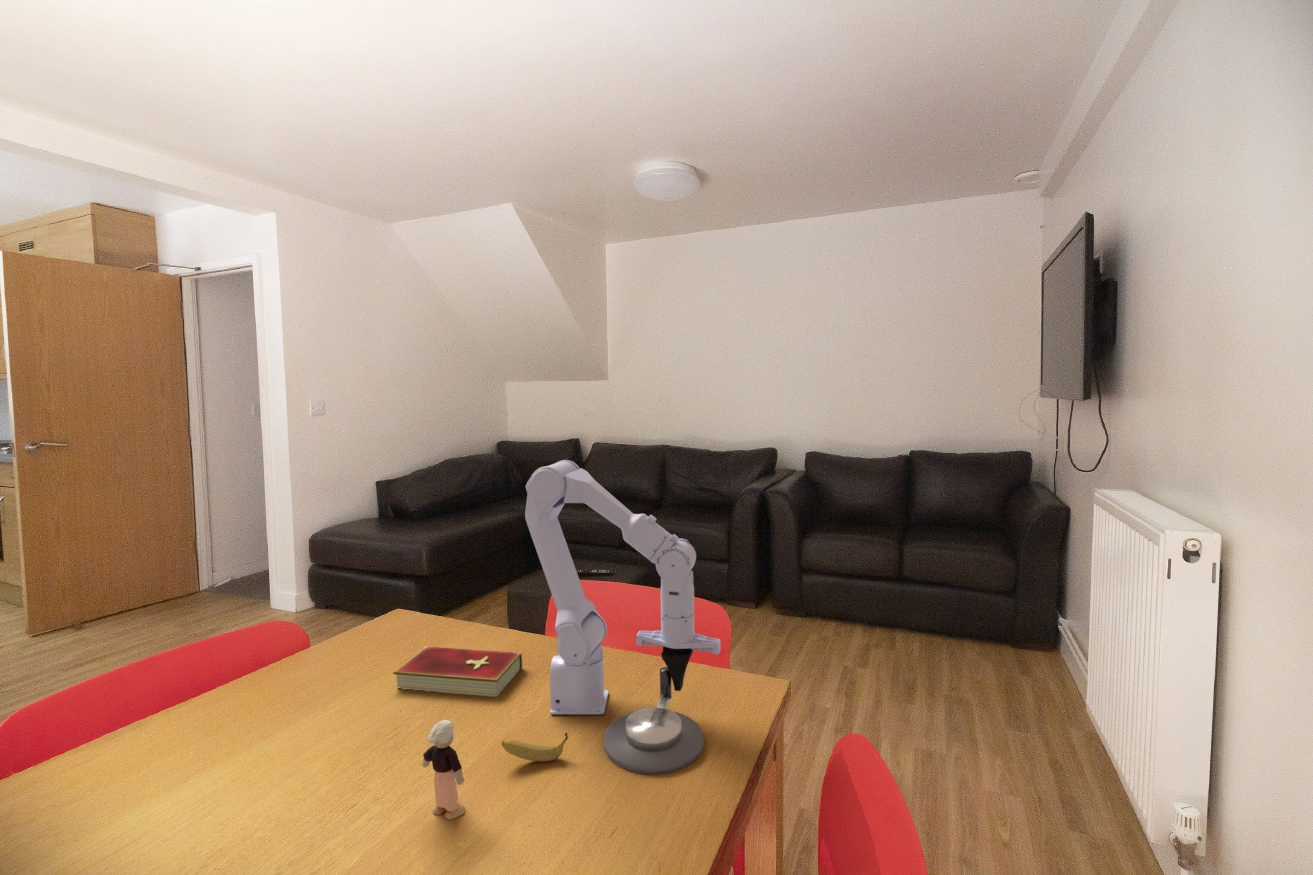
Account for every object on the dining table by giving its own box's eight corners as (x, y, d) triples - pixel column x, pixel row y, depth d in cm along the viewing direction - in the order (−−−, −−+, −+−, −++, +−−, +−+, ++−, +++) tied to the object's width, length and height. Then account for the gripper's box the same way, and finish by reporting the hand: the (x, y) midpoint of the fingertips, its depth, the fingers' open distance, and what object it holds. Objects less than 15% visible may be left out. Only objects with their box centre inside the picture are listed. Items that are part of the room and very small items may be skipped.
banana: (501, 769, 95) (500, 744, 95) (503, 759, 98) (502, 735, 97) (569, 762, 97) (568, 737, 96) (568, 753, 99) (568, 729, 99)
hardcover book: (427, 663, 132) (426, 644, 132) (522, 670, 128) (521, 650, 128) (394, 691, 120) (393, 670, 120) (497, 700, 117) (496, 678, 116)
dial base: (598, 773, 94) (598, 764, 94) (609, 715, 110) (609, 708, 110) (705, 774, 93) (705, 765, 93) (701, 716, 109) (701, 708, 109)
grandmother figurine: (478, 805, 87) (474, 718, 86) (461, 824, 84) (456, 734, 82) (432, 794, 90) (427, 709, 88) (413, 812, 86) (408, 724, 85)
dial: (675, 753, 96) (674, 713, 95) (618, 746, 98) (617, 706, 98) (692, 705, 110) (692, 669, 109) (642, 699, 112) (641, 664, 112)
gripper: (723, 607, 110) (724, 682, 111) (644, 600, 114) (645, 672, 115) (715, 623, 103) (716, 702, 104) (631, 614, 107) (633, 691, 108)
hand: (678, 688), depth 109 cm, fingers closed
